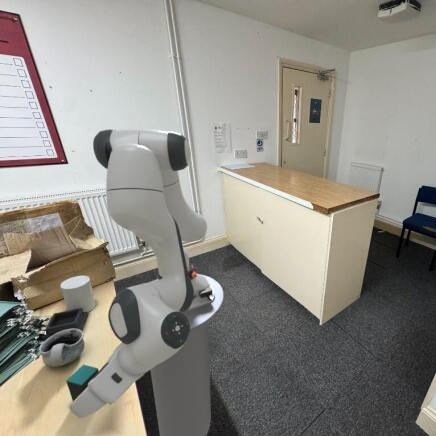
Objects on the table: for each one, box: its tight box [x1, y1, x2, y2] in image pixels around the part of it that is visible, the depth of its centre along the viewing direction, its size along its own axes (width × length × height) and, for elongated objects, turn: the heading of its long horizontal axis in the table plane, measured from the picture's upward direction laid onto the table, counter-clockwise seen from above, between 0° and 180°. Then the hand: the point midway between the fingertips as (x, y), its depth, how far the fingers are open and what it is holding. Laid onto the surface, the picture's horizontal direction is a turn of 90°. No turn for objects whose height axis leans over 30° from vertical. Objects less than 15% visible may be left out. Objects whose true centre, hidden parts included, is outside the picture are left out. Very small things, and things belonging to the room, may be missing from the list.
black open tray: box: [41, 308, 89, 342], centre depth 82 cm, size 10×9×4 cm
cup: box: [59, 275, 96, 312], centre depth 89 cm, size 8×8×12 cm
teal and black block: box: [65, 364, 100, 402], centre depth 61 cm, size 4×4×9 cm
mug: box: [38, 329, 86, 368], centre depth 69 cm, size 10×12×10 cm
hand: (105, 375), depth 58 cm, fingers open, 8 cm apart
